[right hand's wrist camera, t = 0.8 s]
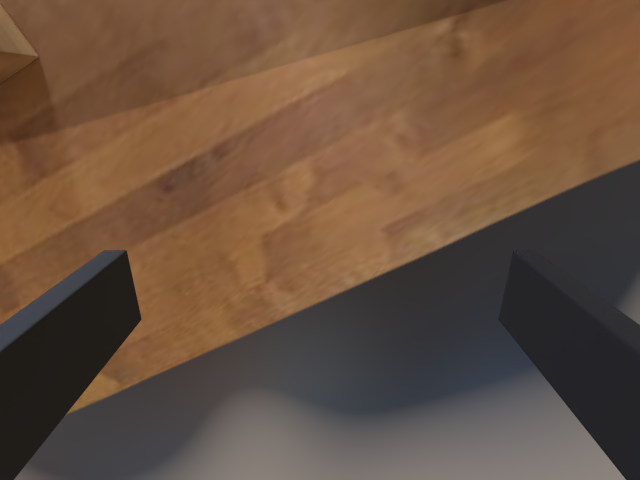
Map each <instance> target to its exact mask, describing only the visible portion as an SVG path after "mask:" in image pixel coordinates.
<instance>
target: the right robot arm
mask: <svg viewBox="0 0 640 480" xmlns="http://www.w3.org/2000/svg"><path fill="white" fill-rule="evenodd" d="M140 321H141V315H140V310H139V306H138V301H137V297H136V292H135V287H134V283H133V278H132V273H131V269H130V264H129V260H128V255H127V251H103V252H101V253H100V254H99V255H97V256H96V257H94V258H93V259H92V260H90V261H89V262H87V263H86V264H85V265H83V266H82V267H80V268H79V269H78V270H76V271H75V272H73V273H72V274H71V275H69V276H68V277H67V278H65V279H64V280H62V281H61V282H60V283H58V284H57V285H55V286H54V287H53V288H51V289H50V290H48V291H47V292H46V293H44V294H43V295H41V296H40V297H39V298H37V299H36V300H35V301H33V302H32V303H30V304H29V305H28V306H26V307H25V308H23V309H22V310H21V311H19V312H18V313H16V314H15V315H14V316H12V317H11V318H9V319H8V320H7V321H5V322H4V323H3V324H1V325H0V480H14V479H15V477H16V476H17V475H18V474H19V472H20V471H21V470H22V469H23V467H24V466H25V465H26V464H27V462H28V461H29V460H30V459H31V457H32V456H33V455H34V454H35V452H36V451H37V450H38V449H39V447H40V446H41V445H42V444H43V442H44V441H45V440H46V439H47V437H48V436H49V435H50V434H51V432H52V431H53V430H54V428H55V427H56V426H57V425H58V424H59V422H60V421H61V420H62V419H63V417H64V416H65V415H66V413H67V412H68V411H69V410H70V408H71V407H72V406H73V405H74V403H75V402H76V401H77V400H78V398H79V397H80V396H81V395H82V393H83V392H84V391H85V390H86V388H87V387H88V386H89V385H90V383H91V382H92V381H93V380H94V378H95V377H96V376H97V375H98V373H99V372H100V371H101V370H102V368H103V367H104V366H105V365H106V363H107V362H108V361H109V360H110V358H111V357H112V356H113V354H114V353H115V352H116V351H117V349H118V348H119V347H120V346H121V344H122V343H123V342H124V341H125V339H126V338H127V337H128V336H129V334H130V333H131V332H132V331H133V329H134V328H135V327H136V326H137V324H138V323H139V322H140ZM499 321H500V322H501V323H502V324H503V326H504V327H505V328H506V329H507V331H508V332H509V333H510V334H511V336H512V337H513V338H514V339H515V341H516V342H517V343H518V344H519V346H520V347H521V348H522V349H523V351H524V352H525V353H526V354H527V356H528V357H529V358H530V360H531V361H532V362H533V363H534V364H535V366H536V367H537V368H538V369H539V371H540V372H541V373H542V375H543V376H544V377H545V378H546V380H547V381H548V382H549V383H550V385H551V386H552V387H553V388H554V390H555V391H556V392H557V393H558V395H559V396H560V397H561V398H562V400H563V401H564V402H565V403H566V405H567V406H568V407H569V408H570V410H571V411H572V412H573V413H574V415H575V416H576V417H577V418H578V420H579V421H580V422H581V424H582V425H583V426H584V427H585V429H586V430H587V431H588V432H589V434H590V435H591V436H592V437H593V439H594V440H595V441H596V442H597V444H598V445H599V446H600V447H601V449H602V450H603V451H604V452H605V454H606V455H607V456H608V457H609V459H610V460H611V461H612V462H613V464H614V465H615V466H616V467H617V469H618V470H619V471H620V472H621V474H622V475H623V476H624V477H625V479H626V480H640V325H639V324H637V323H636V322H635V321H633V320H632V319H630V318H629V317H628V316H626V315H625V314H623V313H622V312H621V311H619V310H618V309H617V308H615V307H614V306H612V305H611V304H610V303H608V302H607V301H605V300H604V299H603V298H601V297H600V296H599V295H597V294H596V293H594V292H593V291H592V290H590V289H589V288H587V287H586V286H585V285H583V284H582V283H580V282H579V281H578V280H576V279H575V278H573V277H572V276H571V275H569V274H568V273H566V272H565V271H564V270H562V269H561V268H560V267H558V266H557V265H555V264H554V263H553V262H551V261H550V260H548V259H547V258H546V257H544V256H543V255H541V254H540V253H539V252H537V251H513V255H512V260H511V264H510V269H509V273H508V278H507V283H506V287H505V292H504V297H503V301H502V306H501V311H500V315H499Z"/></svg>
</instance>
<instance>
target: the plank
mask: <svg viewBox="0 0 640 480" xmlns="http://www.w3.org/2000/svg"><path fill="white" fill-rule="evenodd" d="M38 57H39V56H38V55H37V53H36V52H35V51H34V49H33V48H32V47H31V45H30V44H29V42H28V41H27V40H26V38H25V37H24V36H23V34H22V33H21V31H20V30H19V29H18V27H17V26H16V25H15V23H14V22H13V20H12V19H11V18H10V16H9V15H8V14H7V12H6V11H5V10H4V8H3V7H2V5H1V4H0V84H1V83H2V82H4V81H5V80H7V79H8V78H10V77H11V76H12V75H14V74H15V73H17V72H18V71H20V70H21V69H22V68H24V67H25V66H27V65H28V64H30V63H31V62H33V61H34V60H35V59H37V58H38Z"/></svg>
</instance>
